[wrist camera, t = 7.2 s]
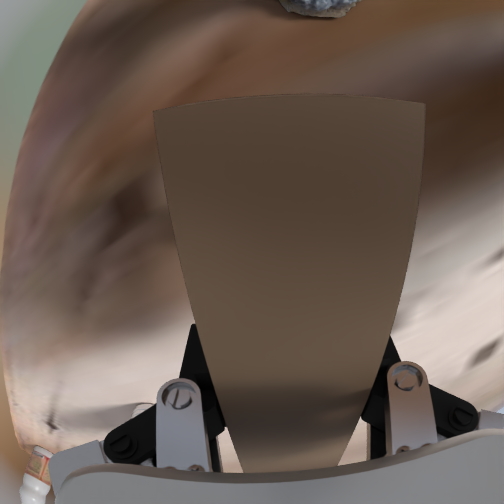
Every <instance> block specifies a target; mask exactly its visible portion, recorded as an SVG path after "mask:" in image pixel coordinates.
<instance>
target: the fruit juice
mask: <svg viewBox="0 0 504 504" xmlns="http://www.w3.org/2000/svg"><path fill="white" fill-rule="evenodd" d="M53 455H54V454H53V453H51V452H49V451H48V450H46V449H44V448H42V447H39V446H35V447H34V449H33V452H32V454H31V457H30V460H29V463H28V465H27V468H26V471H25V474H24V477H23V485H22V486H21V488H20V491H19V492H20V496H21V504H45V497H46V494H47V493H48V492H49V490H50V486H51V483H52V482H51V478H50V474H49V469H48V463H49V460H50V458H51V457H52V456H53Z"/></svg>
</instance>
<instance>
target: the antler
mask: <svg viewBox="0 0 504 504" xmlns="http://www.w3.org/2000/svg"><path fill="white" fill-rule="evenodd" d="M360 1H361V0H279V2H280V3H281V4H282V6H283V7H284V8H285V9H286V10H287V11H288V12H291V11H293V12H296V13H298V14H301V15H310V16H318V17H335V18H336V17H340V18H342V16H345V15H346V12H348V11H349V10H350V8H352V7H353V6H355V5H356V2H360Z"/></svg>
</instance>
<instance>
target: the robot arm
mask: <svg viewBox="0 0 504 504" xmlns="http://www.w3.org/2000/svg"><path fill="white" fill-rule="evenodd" d="M361 418H362V420H363V421H365V422H367V461H363V462H358V463H352V464H346V465H340V466H334V467H326V468H318V469H309V470H299V471H286V472H267V473H223V467H222V461H221V455H220V448H219V441H218V435H219V434H220V433H222V432H223V431H224V430H225V427H227V425H226V422H225V419H224V416H223V413H222V410H221V407H220V404H219V401H218V398H217V395H216V392H215V389H214V385H213V382H212V379H211V376H210V372H209V369H208V366H207V362H206V359H205V355H204V352H203V348H202V345H201V341H200V338H199V334H198V331H197V327H196V324H192V325H191V328H190V332H189V336H188V340H187V345H186V349H185V353H184V358H183V362H182V367H181V371H180V376H179V378H177V379H173V380H170V381H168V382H166V383H165V384H164V385H163V386H162V387H161V388H160V389H159V391H158V394H157V403H156V404H154V405H153V406H151V407H150V408H148V409H146V410H145V411H143V412H142V413H140V414H138V415H137V416H135V417H134V418H132V419H130V420H129V421H127V422H125V423H124V424H122V425H120V426H119V427H117V428H115V429H114V430H112V431H111V432H110V433H108V435H107V436H106V438H105V440H103V441H100V442H99V441H98V440H95V441H92V442H89V443H86V444H83V445H80V446H77V447H74V448H70V449H67V450H64V451H61V452H58V453H56V454H54V455H53V456H52V457H51V458H50V460H49V463H48V469H49V474H50V478H51V482H52V486H53V490H54V494H55V498H56V500H55V502H54V504H504V414H501V413H496V412H491V411H486V410H482V409H481V411H480V412H478V411H477V410H476V409H475V407H474V406H473V405H472V404H470V403H469V402H467V401H465V400H462V399H460V398H458V397H456V396H454V395H452V394H449V393H447V392H445V391H443V390H441V389H439V388H437V387H435V386H432V385H430V384H428V379H427V375H426V373H425V371H424V370H423V368H422V367H421V366H419V365H418V364H416V363H413V362H409V361H402V362H401V360H400V357H399V355H398V352H397V350H396V348H395V345H394V343H393V341H392V338H391V336H389V340H388V343H387V346H386V349H385V352H384V355H383V358H382V361H381V364H380V367H379V370H378V373H377V375H376V378H375V381H374V383H373V386H372V389H371V391H370V394H369V396H368V399H367V402H366V404H365V406H364V409H363V411H362V414H361Z"/></svg>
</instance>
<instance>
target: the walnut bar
mask: <svg viewBox="0 0 504 504" xmlns="http://www.w3.org/2000/svg"><path fill="white" fill-rule="evenodd" d="M153 117H154V124H155V131H156V138H157V144H158V151H159V157H160V163H161V169H162V174H163V180H164V186H165V191H166V196H167V202H168V207H169V212H170V217H171V222H172V227H173V231H174V236H175V241H176V245H177V250H178V254H179V259H180V263H181V267H182V272H183V276H184V280H185V284H186V288H187V292H188V296H189V300H190V304H191V308H192V312H193V316H194V319H195V323H196V327H197V331H198V334H199V338H200V341H201V345H202V348H203V352H204V355H205V359H206V362H207V366H208V369H209V372H210V376H211V379H212V382H213V385H214V389H215V392H216V395H217V398H218V401H219V404H220V407H221V410H222V413H223V416H224V419H225V422H226V425H227V428H228V431H229V434H230V437H231V440H232V442H233V445H234V448H235V451H236V454H237V456H238V459H239V462H240V464H241V467H242V470H243V472H244V473H267V472H286V471H299V470H309V469H318V468H326V467H334V466H337V465H338V463H339V461H340V459H341V457H342V455H343V453H344V451H345V449H346V447H347V445H348V443H349V441H350V438H351V436H352V434H353V432H354V430H355V428H356V425H357V423H358V421H359V418H360V416H361V414H362V411H363V409H364V406H365V404H366V402H367V399H368V396H369V394H370V391H371V389H372V386H373V383H374V381H375V378H376V375H377V373H378V370H379V367H380V364H381V361H382V358H383V355H384V352H385V349H386V346H387V343H388V340H389V336H390V333H391V330H392V326H393V323H394V319H395V316H396V312H397V308H398V305H399V301H400V297H401V293H402V289H403V285H404V280H405V276H406V272H407V267H408V262H409V257H410V252H411V247H412V242H413V236H414V230H415V224H416V218H417V211H418V204H419V196H420V187H421V178H422V168H423V155H424V138H425V103H419V102H412V101H405V100H398V99H390V98H381V97H371V96H359V95H345V94H279V95H260V96H246V97H235V98H225V99H216V100H208V101H202V102H196V103H190V104H185V105H180V106H175V107H170V108H165V109H161V110H156V111H153Z"/></svg>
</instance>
